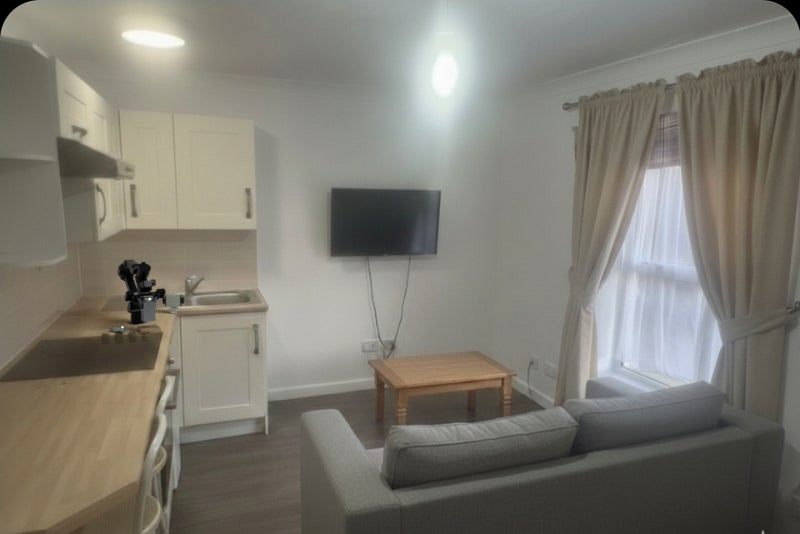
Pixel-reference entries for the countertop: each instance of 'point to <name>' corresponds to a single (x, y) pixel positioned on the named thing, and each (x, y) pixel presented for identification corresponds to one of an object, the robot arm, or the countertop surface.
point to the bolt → (118, 329)
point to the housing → (148, 310)
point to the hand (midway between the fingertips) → (149, 308)
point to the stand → (149, 328)
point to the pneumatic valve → (173, 302)
